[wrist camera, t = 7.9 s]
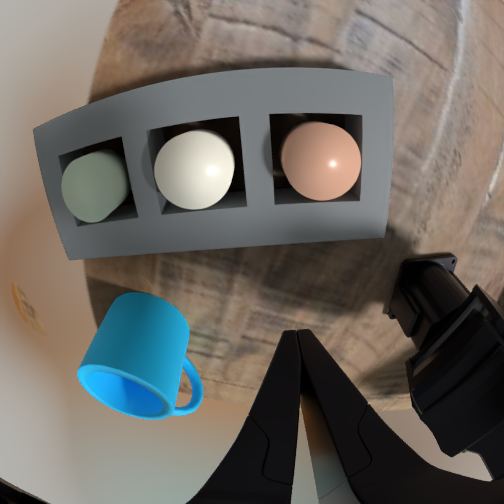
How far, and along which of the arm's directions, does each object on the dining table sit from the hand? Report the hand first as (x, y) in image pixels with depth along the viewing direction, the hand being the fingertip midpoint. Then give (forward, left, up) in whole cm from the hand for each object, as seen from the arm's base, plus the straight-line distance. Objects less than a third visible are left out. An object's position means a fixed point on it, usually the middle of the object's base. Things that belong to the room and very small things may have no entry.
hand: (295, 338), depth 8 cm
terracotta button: (-2, -4, -10) cm, 11 cm away
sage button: (+11, -4, -10) cm, 15 cm away
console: (+4, -4, -11) cm, 13 cm away
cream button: (+4, -4, -10) cm, 11 cm away
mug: (+11, +12, -12) cm, 20 cm away
